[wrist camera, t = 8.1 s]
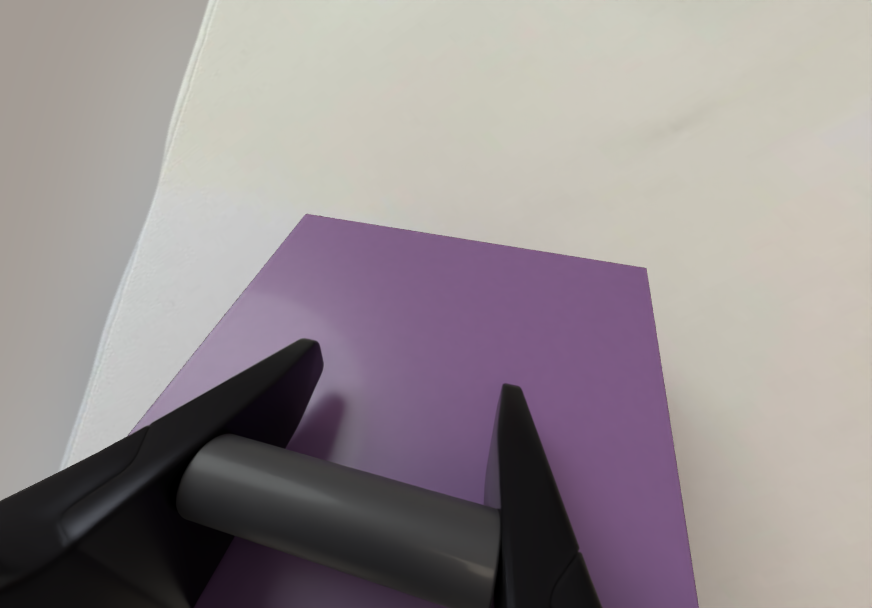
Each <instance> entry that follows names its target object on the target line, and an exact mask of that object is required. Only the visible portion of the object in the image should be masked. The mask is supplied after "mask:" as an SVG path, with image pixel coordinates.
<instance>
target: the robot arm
mask: <svg viewBox="0 0 872 608" xmlns="http://www.w3.org/2000/svg"><path fill="white" fill-rule="evenodd" d="M323 368H324V361H323V357H322V352H321V348H320V344H319V342H318V341H316V340H312V339H308V338H301V339H299V340H297V341H295V342H293V343H292V344H290V345H288V346H286V347H284V348H283V349H281V350H279V351H277V352H276V353H274V354H272V355H270V356H269V357H267V358H265V359H263V360H262V361H260V362H258V363H256V364H254V365H253V366H251V367H249V368H247V369H246V370H244V371H242V372H240V373H239V374H237V375H235V376H233V377H231V378H230V379H228V380H226V381H224V382H223V383H221V384H219V385H217V386H216V387H214V388H212V389H210V390H209V391H207V392H205V393H203V394H201V395H200V396H198V397H196V398H194V399H193V400H191V401H189V402H187V403H186V404H184V405H182V406H180V407H179V408H177V409H175V410H173V411H171V412H170V413H168V414H166V415H164V416H163V417H161V418H159V419H157V420H156V421H154V422H152V423H151V424H150V426H149V425H147V426H145V427H143V428H141V429H139V430H138V431H136V432H134V433H132V434H131V435H129V436H127V437H125V438H123V439H122V440H120V441H118V442H116V443H114V444H112V445H111V446H109V447H107V448H105V449H103V450H101V451H100V452H98V453H96V454H94V455H92V456H90V457H88V458H86V459H84V460H82V461H80V462H78V463H76V464H74V465H72V466H70V467H68V468H66V469H64V470H62V471H60V472H58V473H56V474H54V475H52V476H50V477H48V478H46V479H44V480H42V481H40V482H38V483H36V484H34V485H32V486H30V487H28V488H26V489H24V490H22V491H20V492H18V493H16V494H13V495H11V496H9V497H8V498H5V499H3V500H1V501H0V608H194V606H195V605H196V603H197V601H198V599H199V598H200V596H201V594H202V593H203V591H204V589H205V587H206V586H207V584H208V582H209V580H210V579H211V577H212V575H213V573H214V572H215V570H216V568H217V567H218V565H219V563H220V561H221V560H222V558H223V556H224V554H225V553H226V551H227V549H228V547H229V546H230V544H231V542H232V541H233V539H234V537H235V536H234V535H231V534H228V533H225V532H222V531H219V530H216V529H213V528H210V527H207V526H204V525H201V524H198V523H195V522H192V521H189V520H186V519H184V518H182V517H181V516H180V514H179V513H178V511H177V507H176V495H177V490H178V486H179V483H180V480H181V478H182V476H183V474H184V472H185V470H186V468H187V466H188V465H189V463H190V461H191V460H192V459H193V457H194V456H195V455H196V453H197V452H198V451H199V450H200V449H201V448H202V447H203V446H204V445H205V444H206V443H208V442H209V441H211V440H212V439H214V438H216V437H218V436H220V435H223V434H234V435H238V436H241V437H245V438H249V439H252V440H256V441H259V442H263V443H266V444H270V445H273V446H277V447H280V448H284V449H286V447H287V445H288V443H289V442H290V440H291V438H292V436H293V435H294V433H295V431H296V429H297V427H298V425H299V423H300V421H301V419H302V417H303V415H304V413H305V410H306V408H307V406H308V403H309V401H310V399H311V397H312V394H313V392H314V390H315V388H316V385H317V383H318V381H319V379H320V376H321V374H322V372H323ZM484 505H485V506H489V507H492V508H496V509H497V510H498V512H499V517H500V527H501V550H500V558H499V566H498V573H497V579H496V585H495V591H494V596H493V601H492V605H491V608H603V607H602V605H601V602H600V600H599V597H598V595H597V592H596V590H595V587H594V584H593V582H592V579H591V577H590V574H589V571H588V568H587V566H586V563H585V560H584V557H583V555H582V553H581V552H578V551H579V549H580V547H579V544H578V542H577V539H576V536H575V533H574V531H573V528H572V525H571V522H570V520H569V517H568V514H567V511H566V509H565V506H564V503H563V500H562V498H561V495H560V492H559V489H558V487H557V484H556V481H555V478H554V476H553V473H552V470H551V467H550V465H549V462H548V459H547V456H546V454H545V451H544V448H543V445H542V443H541V440H540V437H539V434H538V432H537V429H536V426H535V423H534V421H533V418H532V415H531V412H530V410H529V407H528V404H527V401H526V399H525V396H524V393H523V391H522V389H521V387H520V386H517V385H513V384H508V383H504V384H503V385H502V388H501V392H500V396H499V400H498V404H497V409H496V414H495V420H494V426H493V432H492V438H491V444H490V450H489V455H488V461H487V467H486V475H485V486H484Z"/></svg>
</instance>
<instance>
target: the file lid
mask: <svg viewBox="0 0 872 608" xmlns="http://www.w3.org/2000/svg"><path fill="white" fill-rule="evenodd" d="M301 338H308V339H312V340H316V341H318V342H319V344H320V348H321V352H322V357H323V361H324V368H323V372H322V374H321V376H320V379H319V381H318V383H317V385H316V388H315V390H314V392H313V394H312V397H311V399H310V401H309V403H308V406H307V408H306V410H305V413H304V415H303V417H302V419H301V421H300V423H299V425H298V427H297V429H296V431H295V433H294V435H293V436H292V438H291V440H290V442H289V443H288V445H287V447H286V449H284V448H280V447H277V446H273V445H270V444H266V443H263V442H259V441H256V440H252V439H249V438H245V437H241V436H238V435H234V434H223V435H220V436H218V437H216V438H214V439H212V440H211V441H209V442H208V443H206V444H205V445H204V446H203V447H202V448H201V449H200V450H199V451H198V452H197V453H196V455H195V456H194V457H193V459H192V460H191V461H190V463H189V465H188V466H187V468H186V470H185V472H184V474H183V476H182V478H181V480H180V483H179V486H178V490H177V495H176V507H177V511H178V513H179V514H180V516H181V517H182V518H184V519H186V520H189V521H192V522H195V523H198V524H201V525H204V526H207V527H210V528H213V529H216V530H219V531H222V532H225V533H228V534H231V535H234V536H235V537H234V539H233V541H232V542H231V544H230V546H229V547H228V549H227V551H226V553H225V554H224V556H223V558H222V560H221V561H220V563H219V565H218V567H217V568H216V570H215V572H214V573H213V575H212V577H211V579H210V580H209V582H208V584H207V586H206V587H205V589H204V591H203V593H202V594H201V596H200V598H199V599H198V601H197V603H196V605H195V606H194V608H491V605H492V601H493V596H494V591H495V585H496V579H497V573H498V566H499V558H500V550H501V527H500V517H499V512H498V510H497V509H496V508H492V507H489V506H485V505H484V486H485V475H486V467H487V461H488V455H489V450H490V444H491V438H492V432H493V426H494V420H495V414H496V409H497V404H498V400H499V396H500V392H501V388H502V385H503V384H504V383H508V384H513V385H517V386H520V387H521V389H522V391H523V393H524V396H525V399H526V401H527V404H528V407H529V410H530V412H531V415H532V418H533V421H534V423H535V426H536V429H537V432H538V434H539V437H540V440H541V443H542V445H543V448H544V451H545V454H546V456H547V459H548V462H549V465H550V467H551V470H552V473H553V476H554V478H555V481H556V484H557V487H558V489H559V492H560V495H561V498H562V500H563V503H564V506H565V509H566V511H567V514H568V517H569V520H570V522H571V525H572V528H573V531H574V533H575V536H576V539H577V542H578V544H579V547H580V549H579V551H578V552H581V553H582V555H583V557H584V560H585V563H586V566H587V568H588V571H589V574H590V577H591V579H592V582H593V584H594V587H595V590H596V592H597V595H598V597H599V600H600V602H601V605H602V607H603V608H699V606H698V599H697V593H696V586H695V580H694V573H693V567H692V560H691V554H690V547H689V541H688V534H687V528H686V521H685V515H684V508H683V502H682V495H681V489H680V482H679V476H678V469H677V463H676V456H675V450H674V444H673V437H672V431H671V424H670V418H669V411H668V405H667V398H666V392H665V385H664V379H663V372H662V366H661V359H660V353H659V346H658V340H657V333H656V327H655V320H654V314H653V307H652V301H651V294H650V288H649V282H648V275H647V269H646V268H643V267H636V266H630V265H624V264H618V263H611V262H605V261H599V260H592V259H586V258H580V257H574V256H567V255H561V254H555V253H549V252H542V251H536V250H530V249H524V248H517V247H511V246H505V245H498V244H492V243H486V242H480V241H473V240H467V239H461V238H455V237H448V236H442V235H436V234H429V233H423V232H417V231H411V230H404V229H398V228H392V227H386V226H379V225H373V224H367V223H361V222H354V221H348V220H342V219H335V218H329V217H323V216H317V215H310V214H305V216H304V217H303V218H302V219H301V221H300V222H299V223H298V224H297V225H296V227H295V228H294V229H293V230H292V232H291V233H290V234H289V235H288V237H287V238H286V239H285V240H284V242H283V243H282V244H281V245H280V247H279V248H278V249H277V250H276V252H275V253H274V254H273V255H272V257H271V258H270V259H269V260H268V262H267V263H266V264H265V265H264V267H263V268H262V269H261V270H260V272H259V273H258V274H257V275H256V277H255V278H254V279H253V280H252V282H251V283H250V284H249V285H248V286H247V288H246V289H245V290H244V291H243V293H242V294H241V295H240V296H239V298H238V299H237V300H236V301H235V303H234V304H233V305H232V306H231V308H230V309H229V310H228V311H227V313H226V314H225V315H224V316H223V318H222V319H221V320H220V321H219V323H218V324H217V325H216V326H215V328H214V329H213V330H212V331H211V333H210V334H209V335H208V336H207V338H206V339H205V340H204V341H203V343H202V344H201V345H200V346H199V348H198V349H197V350H196V351H195V352H194V354H193V355H192V356H191V357H190V359H189V360H188V361H187V362H186V364H185V365H184V366H183V367H182V369H181V370H180V371H179V372H178V374H177V375H176V376H175V377H174V379H173V380H172V381H171V382H170V384H169V385H168V386H167V387H166V389H165V390H164V391H163V392H162V394H161V395H160V396H159V397H158V399H157V400H156V401H155V402H154V404H153V405H152V406H151V407H150V409H149V410H148V411H147V412H146V414H145V415H144V416H143V417H142V418H141V420H140V421H139V422H138V423H137V425H136V426H135V427H134V428H133V430H132V431H131V432H130V433H129V435H131V434H132V433H134V432H136V431H138V430H139V429H141V428H143V427H145V426H147V425H149V426H150V424H151V423H152V422H154V421H156V420H157V419H159V418H161V417H163V416H164V415H166V414H168V413H170V412H171V411H173V410H175V409H177V408H179V407H180V406H182V405H184V404H186V403H187V402H189V401H191V400H193V399H194V398H196V397H198V396H200V395H201V394H203V393H205V392H207V391H209V390H210V389H212V388H214V387H216V386H217V385H219V384H221V383H223V382H224V381H226V380H228V379H230V378H231V377H233V376H235V375H237V374H239V373H240V372H242V371H244V370H246V369H247V368H249V367H251V366H253V365H254V364H256V363H258V362H260V361H262V360H263V359H265V358H267V357H269V356H270V355H272V354H274V353H276V352H277V351H279V350H281V349H283V348H284V347H286V346H288V345H290V344H292V343H293V342H295V341H297V340H299V339H301ZM129 435H128V436H129Z"/></svg>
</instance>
